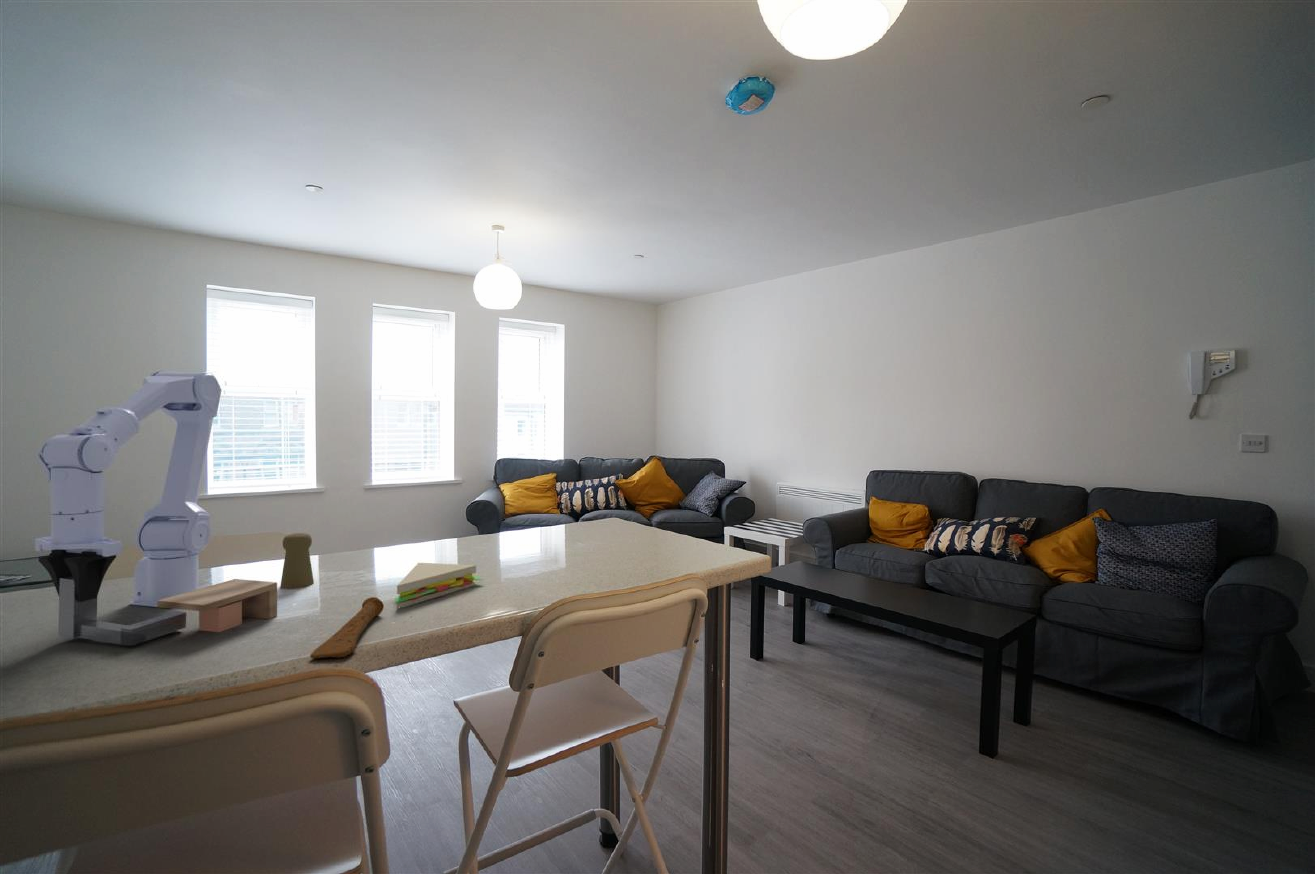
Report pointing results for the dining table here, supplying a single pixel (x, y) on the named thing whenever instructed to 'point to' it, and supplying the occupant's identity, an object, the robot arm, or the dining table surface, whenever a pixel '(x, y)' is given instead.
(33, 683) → the dining table surface
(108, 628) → the grey angled block
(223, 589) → the cubby
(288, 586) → the cork
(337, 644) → the primitive tool
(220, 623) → the cube
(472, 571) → the sandwich
